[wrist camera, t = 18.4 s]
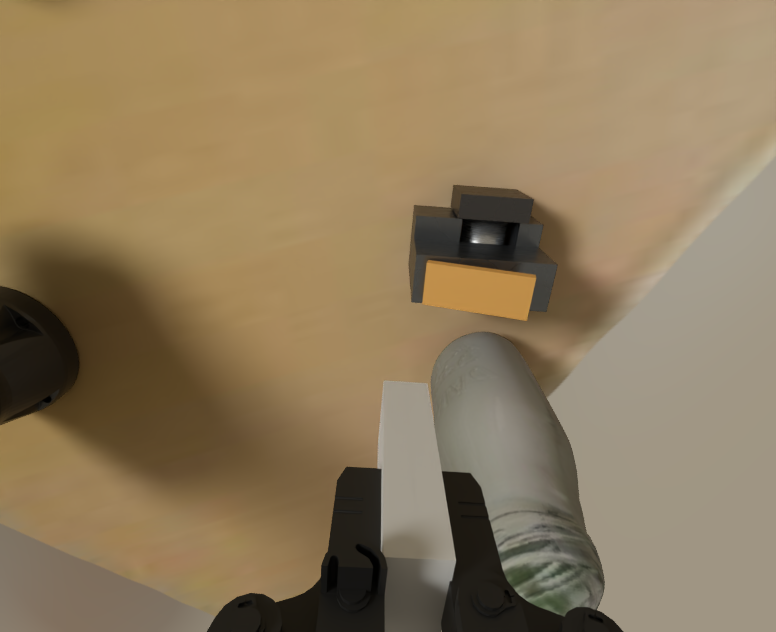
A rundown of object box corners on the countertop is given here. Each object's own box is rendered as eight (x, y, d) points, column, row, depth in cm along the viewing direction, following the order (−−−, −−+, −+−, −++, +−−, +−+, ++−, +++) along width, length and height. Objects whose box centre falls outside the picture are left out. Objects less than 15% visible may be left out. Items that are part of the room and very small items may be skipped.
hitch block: (408, 264, 44) (411, 302, 35) (414, 205, 42) (418, 228, 33) (515, 272, 44) (546, 311, 35) (527, 213, 42) (563, 239, 33)
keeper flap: (423, 300, 35) (422, 304, 34) (428, 259, 34) (426, 262, 33) (526, 316, 33) (526, 320, 33) (535, 274, 32) (536, 278, 31)
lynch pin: (439, 293, 45) (445, 315, 40) (453, 184, 41) (461, 193, 36) (496, 297, 45) (509, 319, 40) (517, 189, 41) (533, 199, 36)
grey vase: (466, 300, 46) (553, 527, 20) (537, 351, 48) (694, 612, 23) (409, 365, 49) (422, 629, 24) (478, 410, 52) (556, 694, 26)
